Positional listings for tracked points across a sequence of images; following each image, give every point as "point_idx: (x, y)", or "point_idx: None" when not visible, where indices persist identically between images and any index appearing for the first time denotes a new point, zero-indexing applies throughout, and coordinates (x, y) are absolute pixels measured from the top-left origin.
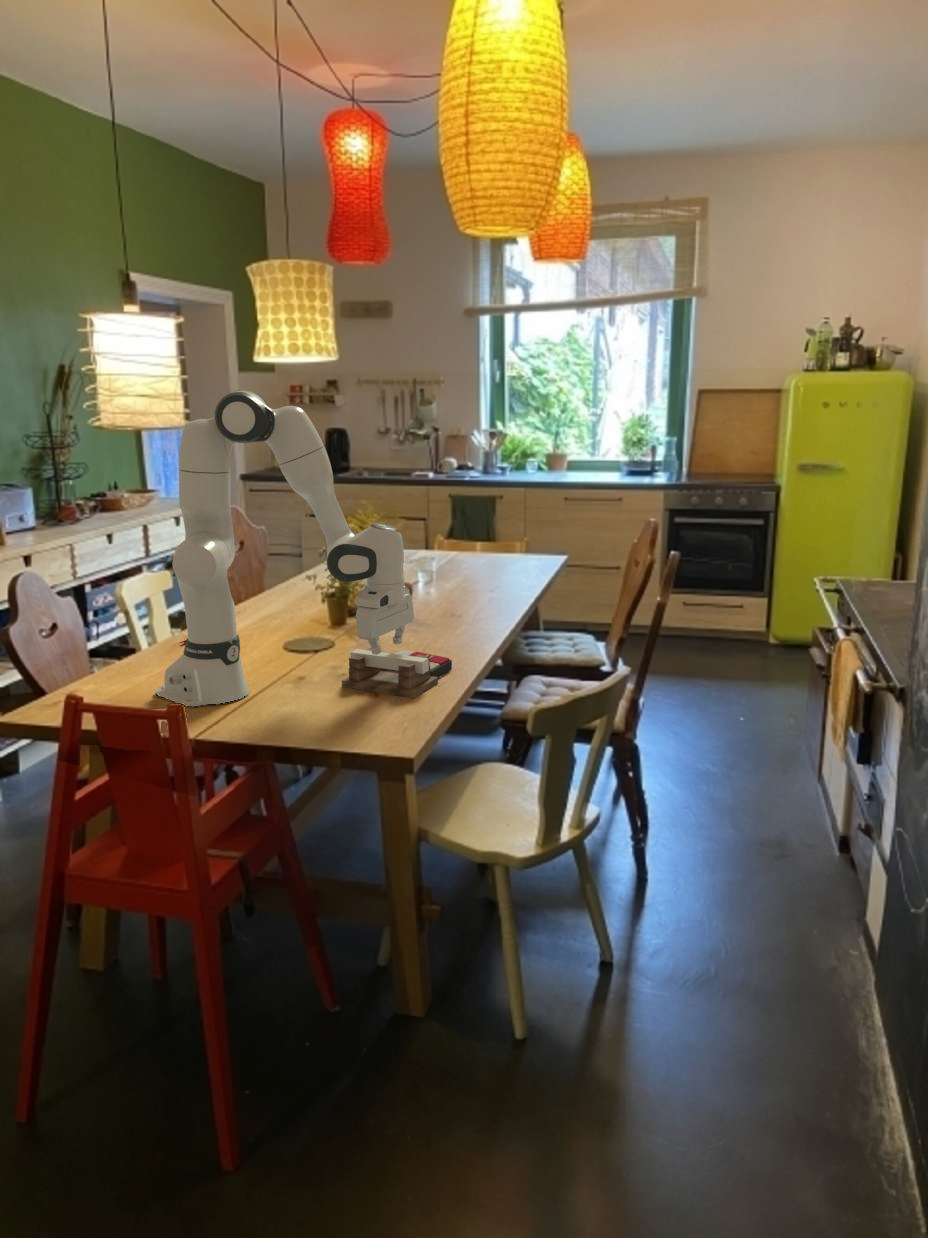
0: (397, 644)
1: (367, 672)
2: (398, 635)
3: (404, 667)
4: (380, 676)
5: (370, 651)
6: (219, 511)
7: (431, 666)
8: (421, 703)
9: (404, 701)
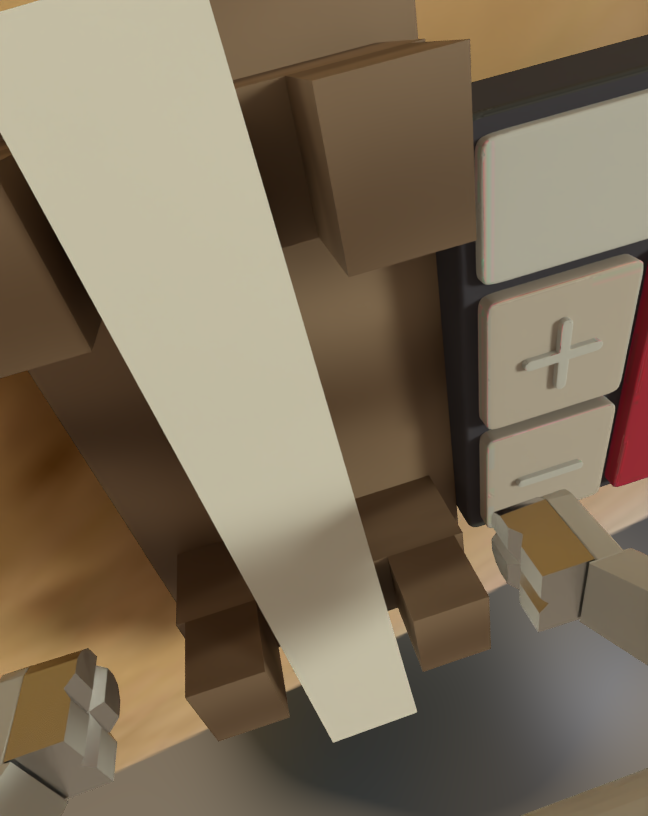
0: (494, 546)
1: None
2: (601, 609)
3: (204, 716)
4: None
5: (259, 297)
6: None
7: None
8: (177, 652)
9: (130, 606)
